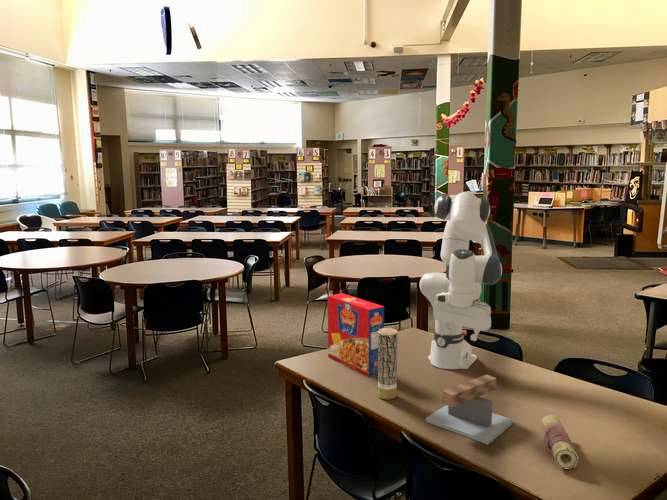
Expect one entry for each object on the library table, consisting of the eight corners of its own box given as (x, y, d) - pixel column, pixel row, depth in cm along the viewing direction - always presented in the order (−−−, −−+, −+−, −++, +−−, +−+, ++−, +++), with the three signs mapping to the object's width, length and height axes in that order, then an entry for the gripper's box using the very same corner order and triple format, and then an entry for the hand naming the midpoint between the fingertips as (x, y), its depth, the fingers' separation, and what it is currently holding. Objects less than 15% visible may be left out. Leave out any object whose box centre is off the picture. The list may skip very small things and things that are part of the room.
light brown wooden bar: (486, 385, 178) (486, 374, 177) (496, 389, 175) (496, 378, 174) (442, 402, 165) (442, 391, 164) (451, 407, 162) (452, 395, 161)
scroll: (532, 429, 164) (543, 464, 145) (544, 409, 162) (557, 442, 143) (554, 440, 163) (569, 477, 144) (567, 421, 161) (583, 456, 142)
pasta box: (328, 357, 231) (327, 295, 227) (342, 353, 236) (342, 293, 231) (368, 377, 209) (368, 309, 204) (383, 372, 213) (384, 306, 209)
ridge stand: (425, 421, 172) (426, 395, 171) (453, 403, 185) (454, 378, 184) (488, 444, 158) (489, 416, 156) (513, 423, 171) (514, 396, 169)
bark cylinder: (395, 401, 187) (396, 334, 183) (376, 399, 189) (377, 333, 185) (397, 393, 194) (398, 328, 190) (379, 391, 195) (379, 327, 191)
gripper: (495, 301, 171) (493, 341, 174) (440, 291, 184) (440, 328, 187) (486, 306, 166) (485, 347, 169) (431, 295, 180) (430, 333, 183)
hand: (461, 337), depth 178 cm, fingers open, 8 cm apart
